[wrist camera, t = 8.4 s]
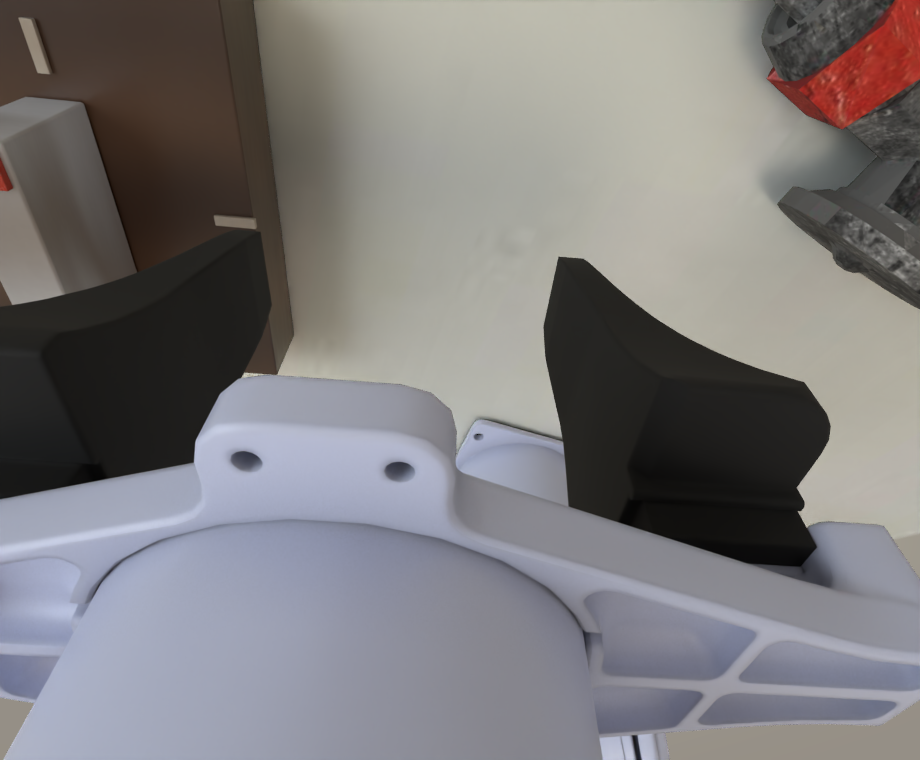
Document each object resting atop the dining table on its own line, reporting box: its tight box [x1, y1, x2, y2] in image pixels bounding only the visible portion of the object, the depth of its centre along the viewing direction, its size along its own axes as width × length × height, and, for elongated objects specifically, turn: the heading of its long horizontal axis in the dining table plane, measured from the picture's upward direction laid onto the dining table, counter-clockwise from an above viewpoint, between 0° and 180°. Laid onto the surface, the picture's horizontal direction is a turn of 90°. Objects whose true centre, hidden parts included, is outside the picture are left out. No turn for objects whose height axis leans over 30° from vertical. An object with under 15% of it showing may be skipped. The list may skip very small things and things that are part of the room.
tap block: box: [0, 0, 294, 375], centre depth 20 cm, size 14×11×3 cm
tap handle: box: [0, 97, 137, 305], centre depth 18 cm, size 7×2×4 cm, turn 175°
